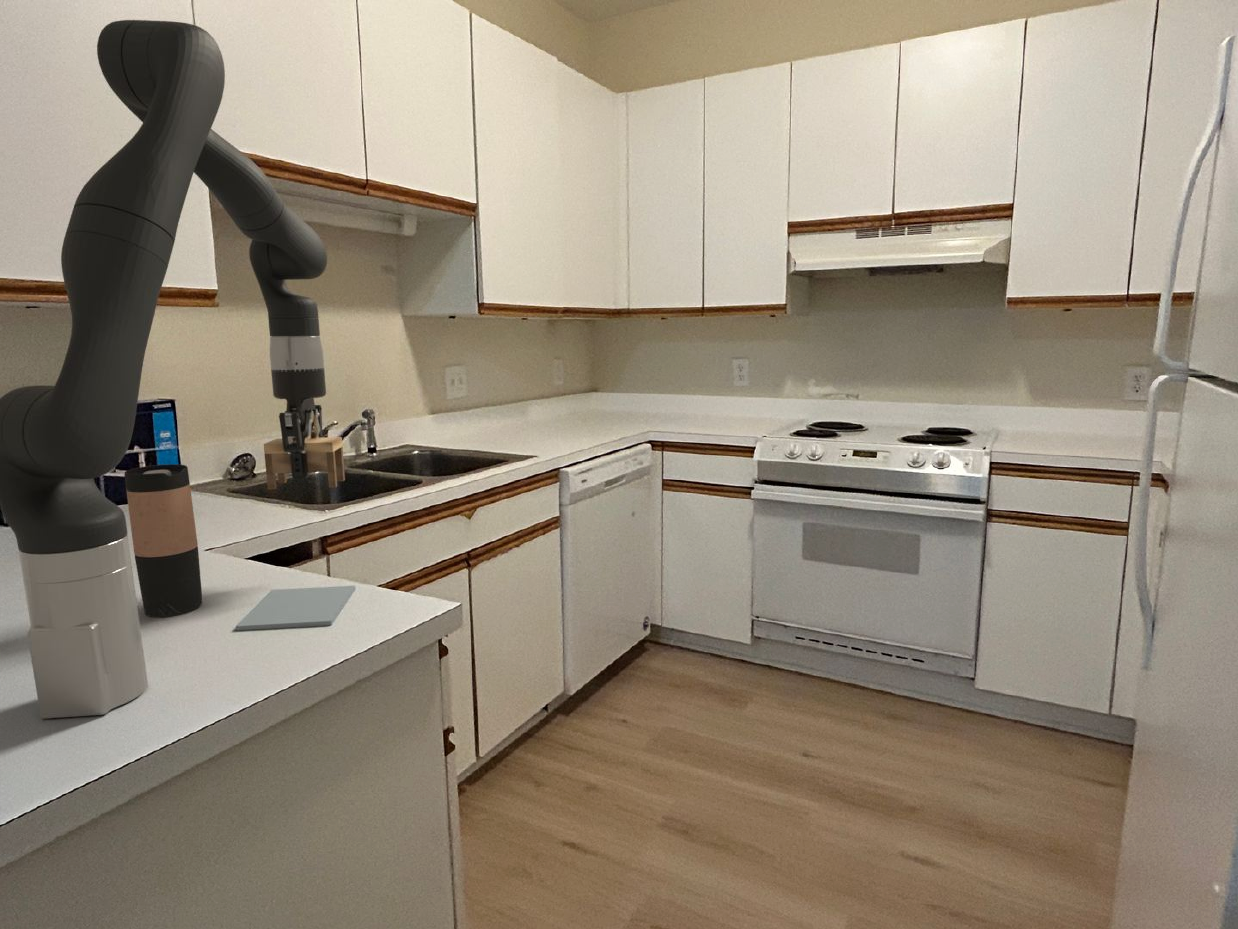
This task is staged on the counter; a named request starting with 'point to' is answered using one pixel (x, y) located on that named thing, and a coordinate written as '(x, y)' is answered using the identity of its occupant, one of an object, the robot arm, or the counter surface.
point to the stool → (319, 459)
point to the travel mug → (164, 539)
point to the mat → (297, 608)
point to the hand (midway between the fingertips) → (306, 474)
